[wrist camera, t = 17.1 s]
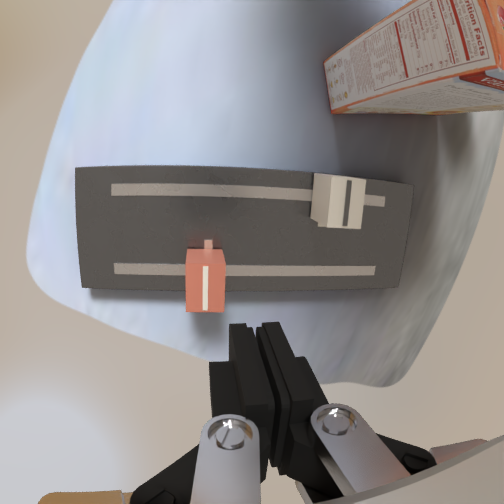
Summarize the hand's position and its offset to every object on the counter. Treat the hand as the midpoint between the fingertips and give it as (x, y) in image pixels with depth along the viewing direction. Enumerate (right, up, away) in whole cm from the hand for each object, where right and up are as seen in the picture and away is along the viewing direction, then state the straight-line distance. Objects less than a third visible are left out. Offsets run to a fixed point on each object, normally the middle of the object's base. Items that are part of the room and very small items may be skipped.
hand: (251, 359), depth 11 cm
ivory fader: (+7, +9, +17) cm, 20 cm away
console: (0, +6, +19) cm, 20 cm away
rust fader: (-4, +2, +17) cm, 18 cm away
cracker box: (+14, +21, +18) cm, 30 cm away
